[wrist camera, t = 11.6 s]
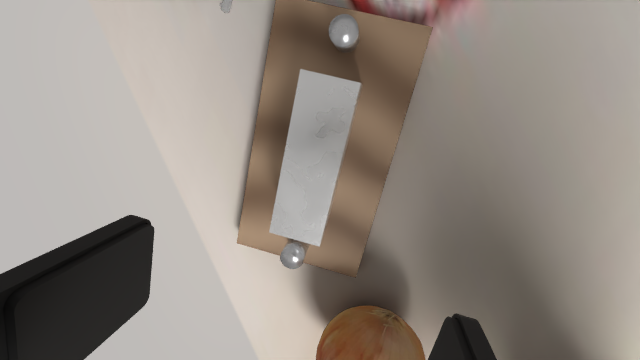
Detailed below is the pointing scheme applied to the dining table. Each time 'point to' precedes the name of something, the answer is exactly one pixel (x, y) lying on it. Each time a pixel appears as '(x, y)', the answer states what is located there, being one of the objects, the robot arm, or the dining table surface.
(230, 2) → the key chain
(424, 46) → the peg board
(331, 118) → the silver metal block
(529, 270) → the dining table surface
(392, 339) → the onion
